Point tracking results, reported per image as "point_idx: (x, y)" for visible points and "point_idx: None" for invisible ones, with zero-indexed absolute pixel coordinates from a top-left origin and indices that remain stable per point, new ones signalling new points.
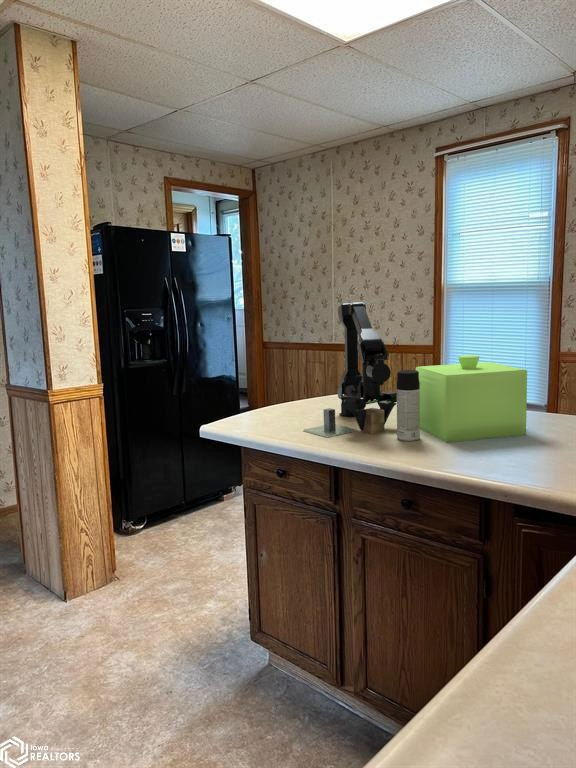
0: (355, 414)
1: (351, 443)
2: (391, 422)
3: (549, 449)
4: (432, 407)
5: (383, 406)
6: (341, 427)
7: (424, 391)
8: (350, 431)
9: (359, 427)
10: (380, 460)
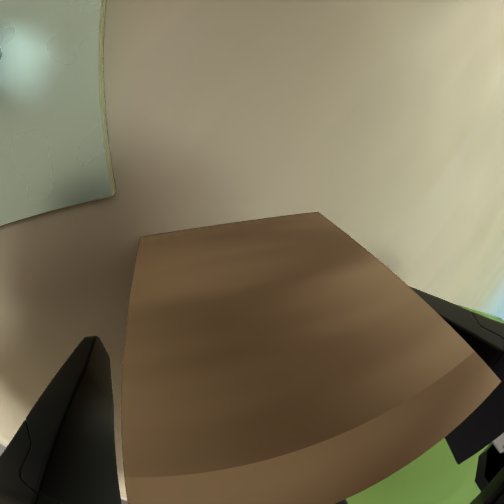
0: (11, 486)
1: (10, 405)
2: (483, 165)
3: None
4: (396, 490)
5: (494, 404)
6: (41, 14)
7: (476, 488)
8: (30, 213)
9: (75, 354)
10: None
